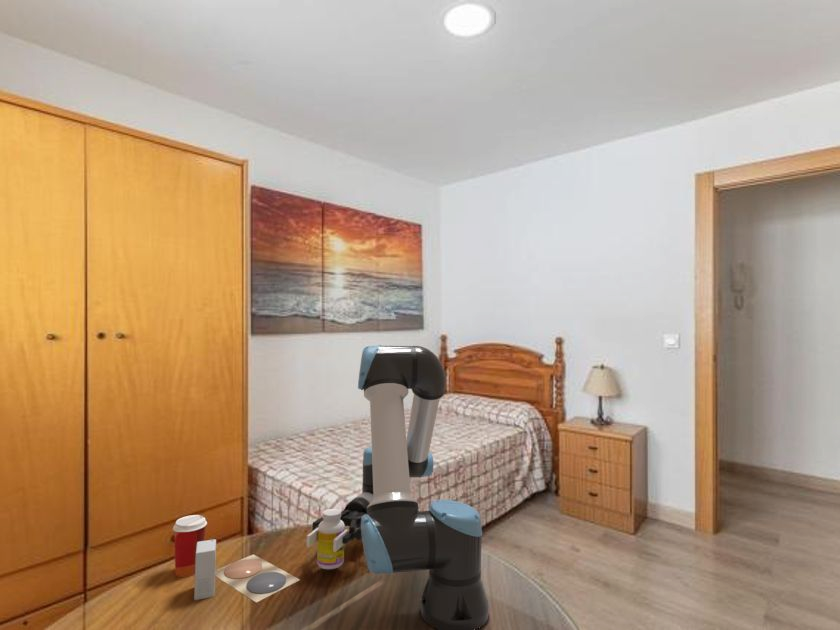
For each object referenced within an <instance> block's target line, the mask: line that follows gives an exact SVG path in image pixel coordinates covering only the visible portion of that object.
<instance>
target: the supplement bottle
mask: <svg viewBox="0 0 840 630" xmlns="http://www.w3.org/2000/svg"><path fill="white" fill-rule="evenodd" d="M341 511H342V510H340V509H338V508H327V509H325V510H323V511H322V517H323V521H322V522H320V524H319V526H318V541H317V551H316V552H317V554H316V555H317V556H316V557H317V558H316V559H317V560H316V564H317V565H318V567H319V568H320V569H323V570H335V569H337V568H340V567H341V566H342V565H343V564H344V562H345V544H344V545H343V546H342V547H341V548H340V549H339V550H338V551H337V552H333V541H334V539H335V538H336V537H338V536H339V535H340V534H341V533H342V532H343V531H344V530H346V529H345V527H346V526H345V524H344V522H343V521H342V520H340V518H341Z"/></svg>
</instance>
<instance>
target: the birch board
mask: <svg viewBox="0 0 840 630" xmlns="http://www.w3.org/2000/svg"><path fill="white" fill-rule="evenodd" d="M246 559H253V560H257V561H260V562H261V563H262V569H261V570H260V572H258V573H257V574H255V575H253V576H251V577H248V578H243V579H231V578H228V577H226V576H225V575H224V570H225V568H226V567H227V566H228V565H230V564H231V563H229V564H226V565H225V566H222V567H220V568H218V569H215V578H217V579H219V580H220V581H222V582H223V583H225V584H227V585H228V586H230V587H231V588H233V589H234V590H236V591H238V592H239V593H241V594H242V595H244V596H245V597H246V598H249V599H250V600H252V601H253V602H254V603H256V604H257V603H259V602H261V601H262V600H264V599H266V598H268V597H270V596H272V595H275V594H276V593H279V592H280V591H282V590H283V589H286V588H287V587H289V586H291V585H294V584H295V583H297V582H299V581H300V580H301V579H299V578H298V577H296V576H294V575H293V574H290V573H288V572H287V571H285V570H283V569H281V568H279V567H277V566H276V565H274V564H272V563H270V562H268V561H267V560H264V559H263V558H261V557H259V556H257V555H255V554H254V553H253V554H251V555H248V556H246V557H244V558H242V559H239V560H238V561H240V560H246ZM266 572H278V573H281V574H283V575H284V576H285V577H286V583H285V585H284V586H283V587H282V588H280V589H279V590H277V591H274V592H271V593H266V594H255V593H252V592H250V591H248V589H247V582H248V581H249V580H250V579H251V578H252V577H254V576H256V575H258V574H261V573H266Z"/></svg>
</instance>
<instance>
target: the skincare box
mask: <svg viewBox="0 0 840 630" xmlns="http://www.w3.org/2000/svg"><path fill="white" fill-rule="evenodd" d="M216 550H217V539H208V540H204V541H200V542H197V546H196V561H195V575H194V592H193V593H194V595H193V600H194V601H199V600H203V599H209V598H213V597H215V594H216V593H215V592H216V591H215V589H216V576H215V570H216V562H217V561H216V557H217V551H216Z"/></svg>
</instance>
